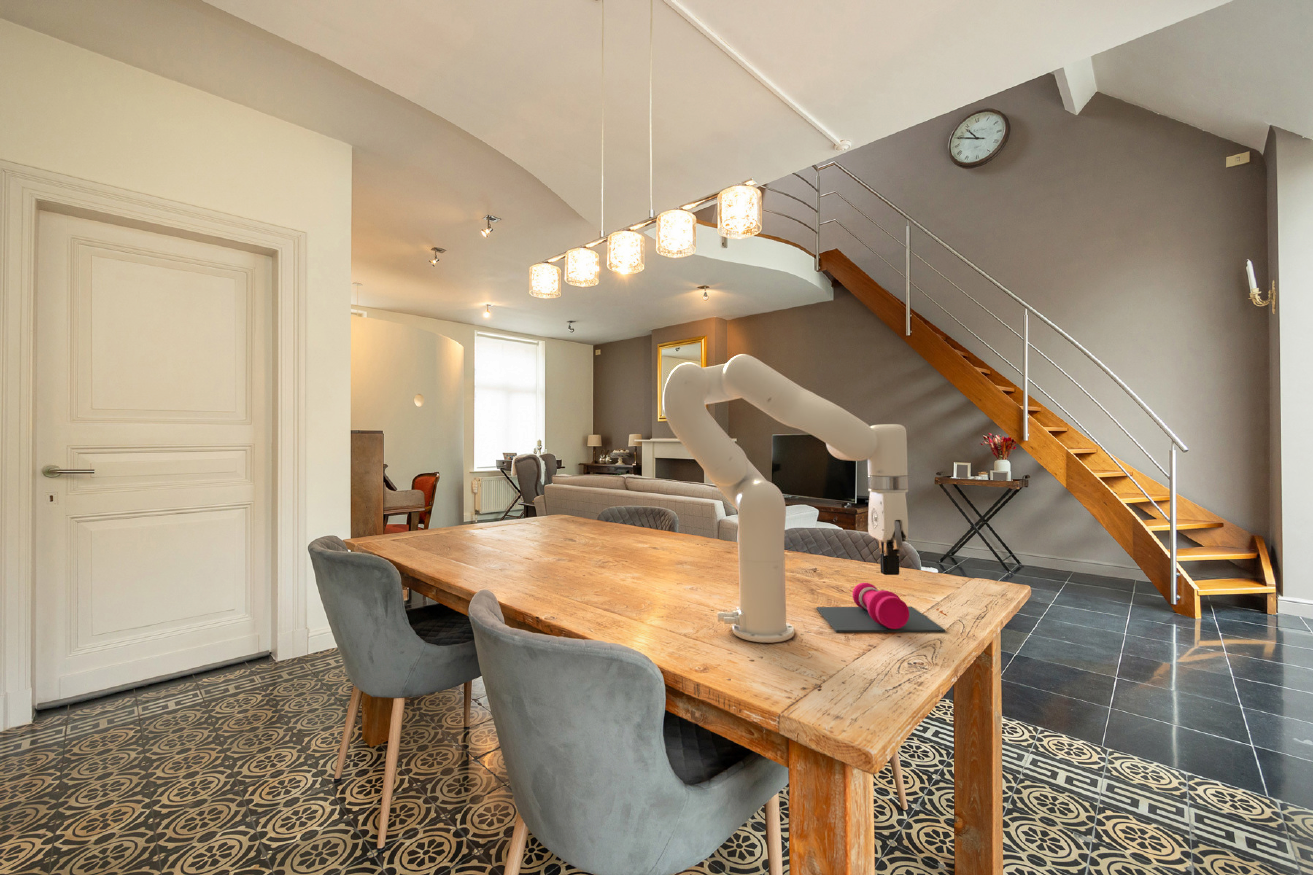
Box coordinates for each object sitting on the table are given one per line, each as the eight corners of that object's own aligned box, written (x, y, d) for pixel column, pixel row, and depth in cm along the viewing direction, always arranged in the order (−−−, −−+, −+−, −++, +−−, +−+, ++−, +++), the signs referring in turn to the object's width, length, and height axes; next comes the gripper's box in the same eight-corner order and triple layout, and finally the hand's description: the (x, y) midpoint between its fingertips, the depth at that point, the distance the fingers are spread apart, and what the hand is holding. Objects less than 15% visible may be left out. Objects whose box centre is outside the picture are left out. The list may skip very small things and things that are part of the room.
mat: (836, 632, 110) (836, 630, 110) (816, 608, 126) (816, 606, 126) (945, 632, 109) (945, 629, 109) (911, 608, 125) (911, 606, 125)
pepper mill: (871, 601, 109) (840, 581, 129) (882, 636, 108) (850, 611, 128) (905, 590, 109) (869, 572, 129) (917, 625, 108) (879, 602, 128)
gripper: (857, 482, 118) (859, 566, 117) (882, 487, 103) (884, 583, 102) (892, 481, 117) (894, 565, 117) (922, 486, 102) (925, 583, 102)
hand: (890, 573), depth 110 cm, fingers closed
